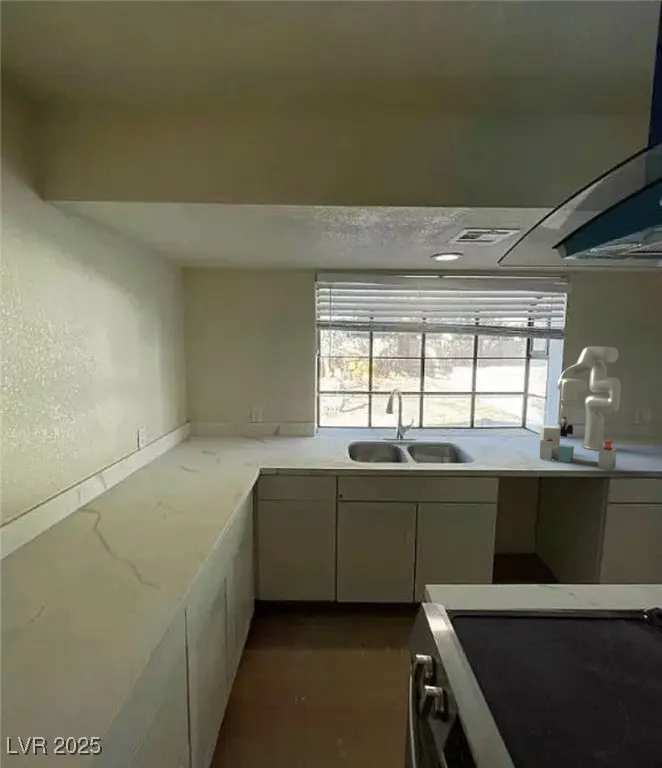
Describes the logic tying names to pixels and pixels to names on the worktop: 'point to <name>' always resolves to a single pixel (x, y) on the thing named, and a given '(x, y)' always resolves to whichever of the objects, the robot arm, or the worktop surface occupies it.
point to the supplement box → (550, 434)
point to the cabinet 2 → (607, 458)
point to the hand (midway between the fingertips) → (566, 435)
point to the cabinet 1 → (548, 448)
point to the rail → (580, 461)
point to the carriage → (565, 452)
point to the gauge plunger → (608, 444)
